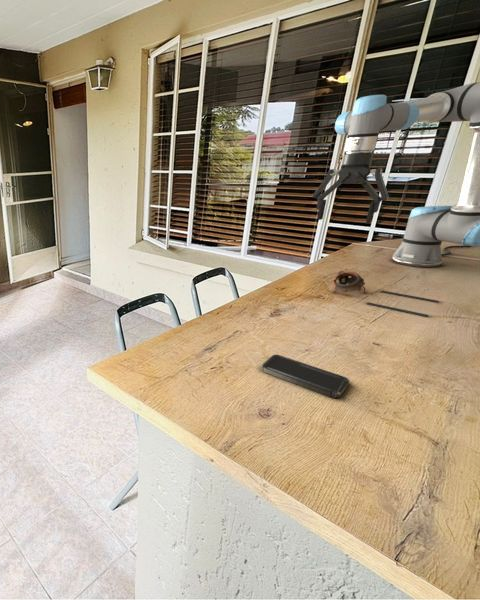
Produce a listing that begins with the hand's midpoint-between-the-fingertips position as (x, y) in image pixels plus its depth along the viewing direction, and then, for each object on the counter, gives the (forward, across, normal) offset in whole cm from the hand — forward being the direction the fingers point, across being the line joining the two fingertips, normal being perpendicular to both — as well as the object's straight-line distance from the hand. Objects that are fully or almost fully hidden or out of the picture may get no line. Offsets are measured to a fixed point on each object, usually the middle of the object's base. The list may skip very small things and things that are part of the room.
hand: (343, 221), depth 117 cm
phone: (+24, +15, -66) cm, 71 cm away
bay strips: (+23, +21, -2) cm, 31 cm away
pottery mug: (+24, +6, -1) cm, 24 cm away
